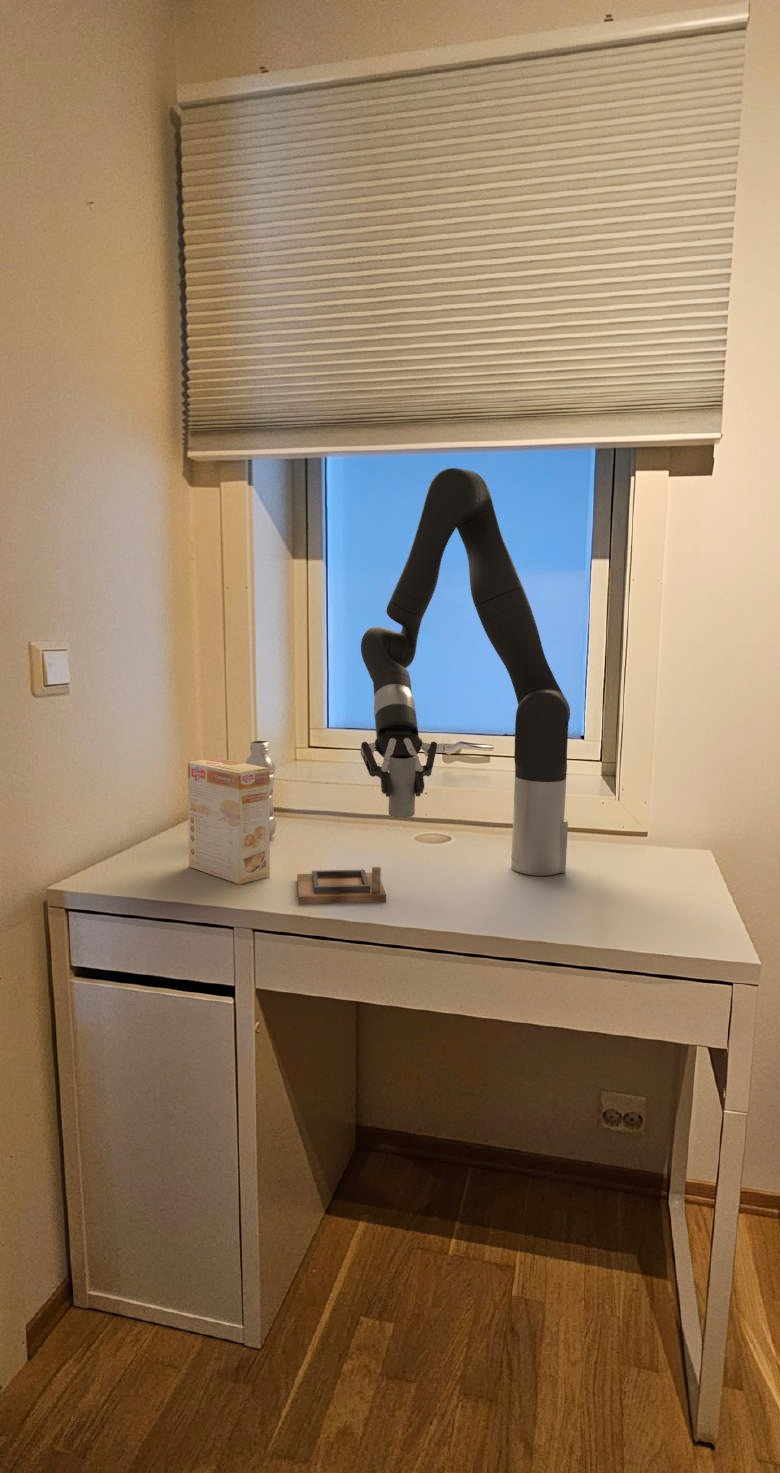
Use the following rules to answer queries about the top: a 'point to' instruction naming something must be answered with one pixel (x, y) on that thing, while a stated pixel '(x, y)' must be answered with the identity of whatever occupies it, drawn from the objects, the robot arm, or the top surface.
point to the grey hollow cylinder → (402, 785)
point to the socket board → (341, 886)
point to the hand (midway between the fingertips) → (403, 793)
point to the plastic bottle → (264, 760)
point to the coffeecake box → (229, 819)
